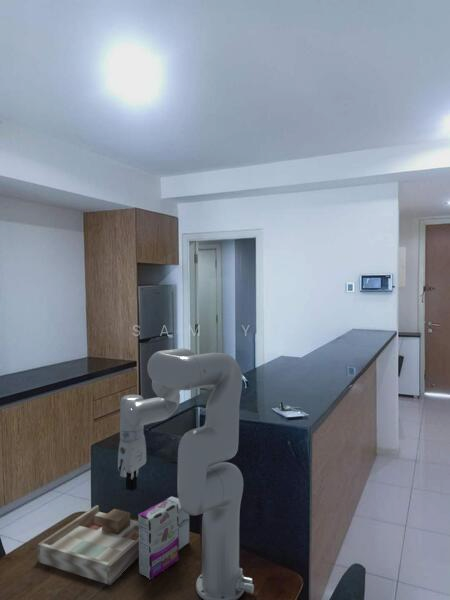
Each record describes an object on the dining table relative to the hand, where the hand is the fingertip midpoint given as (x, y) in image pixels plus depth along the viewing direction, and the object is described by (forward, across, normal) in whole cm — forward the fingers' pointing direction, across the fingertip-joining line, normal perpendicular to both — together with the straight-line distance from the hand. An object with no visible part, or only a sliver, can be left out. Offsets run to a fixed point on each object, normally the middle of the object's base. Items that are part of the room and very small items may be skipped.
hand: (131, 489), depth 146 cm
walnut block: (+8, -9, -1) cm, 12 cm away
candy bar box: (+11, -16, -21) cm, 29 cm away
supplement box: (+11, -5, -19) cm, 23 cm away
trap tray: (+11, -15, -1) cm, 19 cm away
